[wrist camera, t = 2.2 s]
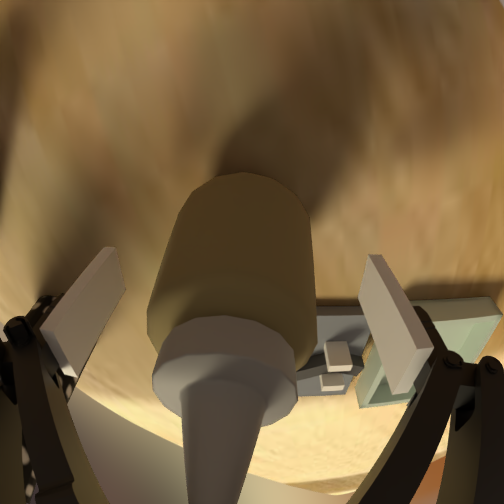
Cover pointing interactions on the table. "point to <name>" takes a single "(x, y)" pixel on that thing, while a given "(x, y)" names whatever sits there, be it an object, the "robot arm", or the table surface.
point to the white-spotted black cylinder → (67, 386)
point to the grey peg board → (334, 351)
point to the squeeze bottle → (232, 324)
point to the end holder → (451, 331)
